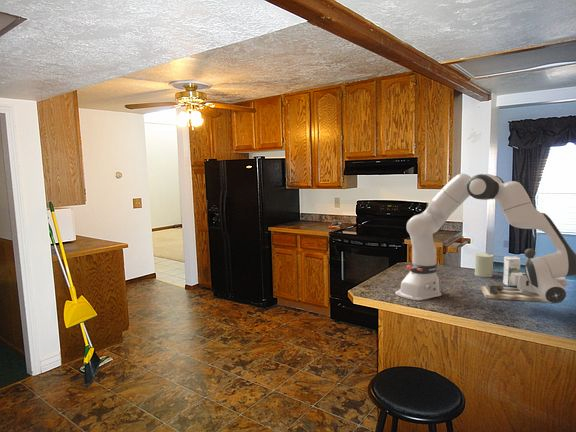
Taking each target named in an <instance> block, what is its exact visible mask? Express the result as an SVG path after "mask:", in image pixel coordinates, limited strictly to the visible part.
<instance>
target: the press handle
mask: <svg viewBox="0 0 576 432" xmlns="http://www.w3.org/2000/svg"><path fill="white" fill-rule="evenodd" d="M536 253H537V252H536V250H534V249H533V248H526V249H525V250H524V256H525V264H526V263H527V261H528V260H529V259H532V258H535V256H536ZM516 288H518V286H516ZM519 290H520V291H521V292H524V293H534V292H531V291H526V290H521V289H519Z"/></svg>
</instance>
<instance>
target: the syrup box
mask: <svg viewBox="0 0 576 432" xmlns="http://www.w3.org/2000/svg"><path fill="white" fill-rule="evenodd" d="M519 272H521V258H520V257H518V256H516V255H515V256H514V255H512V256H511V255H510V256H509V255H508V256H506V255H505V256H503V272H502V274H503V275H502V284H504V285H505V286H507V287H517V286H516V285H515V284H513V283H512V281H511V273H519Z"/></svg>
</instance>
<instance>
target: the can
mask: <svg viewBox="0 0 576 432" xmlns="http://www.w3.org/2000/svg"><path fill="white" fill-rule="evenodd" d="M474 260H475V261H474V275H475V276H477V277H480V278H491V277H493V276H494V274H493V273H494V272H493V271H494V269H493V268H494V255H493V254H490V253H485V252H477V253H475V257H474Z"/></svg>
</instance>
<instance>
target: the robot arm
mask: <svg viewBox="0 0 576 432" xmlns="http://www.w3.org/2000/svg"><path fill="white" fill-rule="evenodd" d="M470 197H472V198H474V199H475V200H482V201H488V200H496V201H497V203H498V204H499V206H500V208H501V212H502V214H503V216H504V218H505V221H506V222H507V223H508V224H509V225H510V226H512V227H514V228H518V229H523V230H524V229H527V230H537V231H540V232H541V231H542V232H543V233H544V234H546V237H547V238H549V240H550V242H551V244H552V245H553V247H554V248H555V250H556V251H555V252H552V253H548V254H544V255H540V256H539V255H538V256H536V257H535V256H534V258H532V259H529V260H528V261H527V263H526V262H525V265H524V272H521V271H520V272H519V273H511V281H512V283H513V284H515V285H516V286H515V287H517V286H518V287H517V288H519V289H521V290H526V291H531V292H534V293H537V294H538V295H539V296H540V297H541V298H542V299H544V300H545V301H547V302H546V303H550V304H559V303H561V302H563V301H564V300H565V299H566V298H567V291H566V289H565V287H566V286H570V285H571V284H570V282H569V281H567V278H566V277H570V276H571V277H572V276H576V253H575V252H574V250H573V249H572V247H571V246H570V244H568V242H567V240H566V239H565V238H564V236H563V234H562V232H561V231H560V229H558V227H557V226H556V224H555V223H554V221H553V220H552V219H551V217H550V216H549V215H547V214H546V213H544V212H541V211H539V210H538V209H536V207H535V206H534V205H533V203H532V201H531V198H530V196H529V194H528V193H527V190H526V189H525V188H524V186H523V185H522V184H521V183H520V182H519V181H514V180H510V181H506V182H504V180H503V179H502V178H501V177H499V176H497V175H495V174H494V175H493V174H489V173H488V174H487V173H486V174H484V173H482V174H481V173H480V174H476V175H474V176H473V175H472V176H471V175H469V174H466V173H458V174H456V175H455V176H454V177H452V178H451V179H450V180H449V181H448V182H446V184H444V185H443V187H441V189H440V190H439V191H438V192H437V194H435V196H434V197H432V199H431V200H430V203H429V204H428V206H427V207H426V208H425V210H424V211H422V212H421V213H418V214H415V215H413V216H412V217H410V219H408V220H407V222H406V232H407V233H408V234H409V236H410V237H409V238H410V243H411V247H412V248H411V253H412V254H411V255H412V256H411V258H412V260H411V261H412V262H411V263H410V265H409V264H407V265H406V270H409V272H408V273H407V274H406V276H405V277H404V278H403V279H402V280H401V283H400V288H399V289H398V290H396V291H395V295H396V296H397V297H398V296H399V297H401V298H403V299H408V300H412V301H423V300H429V299H432V298H435V297H436V298H437V297H441V296H442V292H440V282H439V281H440V280H439V277H438V274H437V270H438V265H437V246H436V245H435V242H434V237H433V235H434V234H436V233H437V232H438V231H439V230H440V229H441V227H442V226H443V225H444V224H445V223H446V221H447V220H448V219H449V218H450V217H451V215H452V214H453V213H454V212H455V211H456V210H457V209H458V208H459V207H460V206H461V205H462V204H464V202H465V200H467V199H468V198H470Z"/></svg>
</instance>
